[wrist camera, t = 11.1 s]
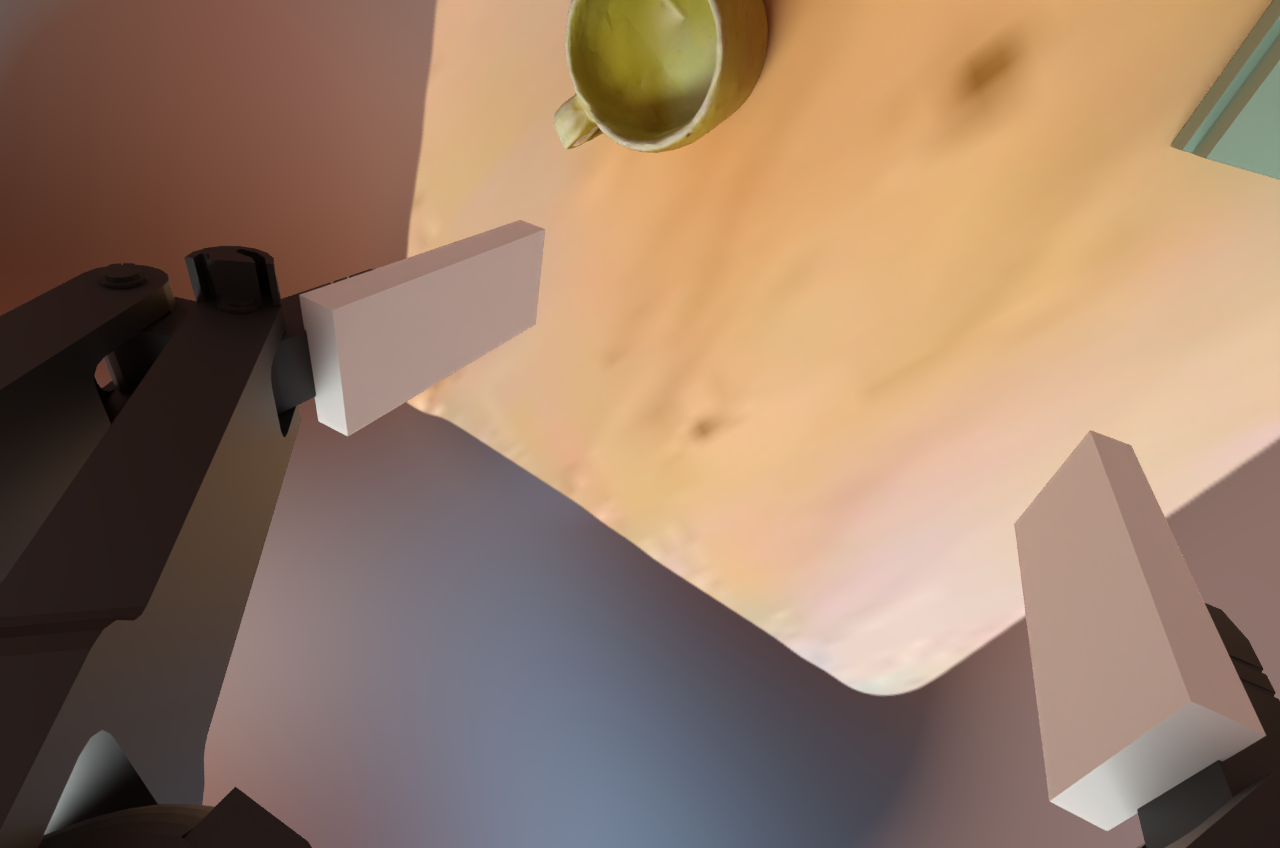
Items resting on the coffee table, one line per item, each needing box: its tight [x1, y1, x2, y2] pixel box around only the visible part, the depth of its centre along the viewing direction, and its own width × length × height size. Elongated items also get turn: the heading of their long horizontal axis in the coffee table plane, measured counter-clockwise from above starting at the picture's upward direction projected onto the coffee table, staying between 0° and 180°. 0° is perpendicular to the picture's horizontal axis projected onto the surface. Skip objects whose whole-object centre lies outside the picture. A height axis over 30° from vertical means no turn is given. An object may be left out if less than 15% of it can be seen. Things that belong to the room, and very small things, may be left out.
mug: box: [554, 0, 768, 153], centre depth 33 cm, size 12×10×10 cm
